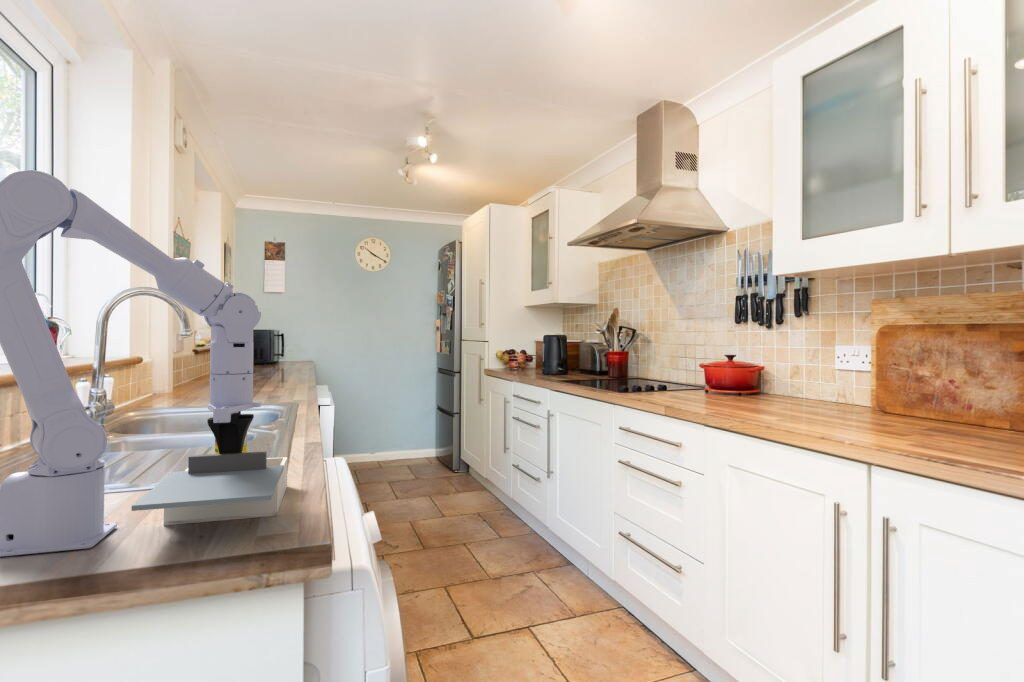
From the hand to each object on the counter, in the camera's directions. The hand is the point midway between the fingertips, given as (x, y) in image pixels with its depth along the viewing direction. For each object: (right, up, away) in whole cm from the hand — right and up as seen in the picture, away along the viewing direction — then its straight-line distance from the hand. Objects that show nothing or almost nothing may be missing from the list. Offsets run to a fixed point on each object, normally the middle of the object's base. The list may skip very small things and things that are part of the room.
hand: (230, 464), depth 79 cm
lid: (+3, -1, -8) cm, 9 cm away
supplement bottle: (-13, -7, +24) cm, 28 cm away
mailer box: (-1, -6, +2) cm, 7 cm away
